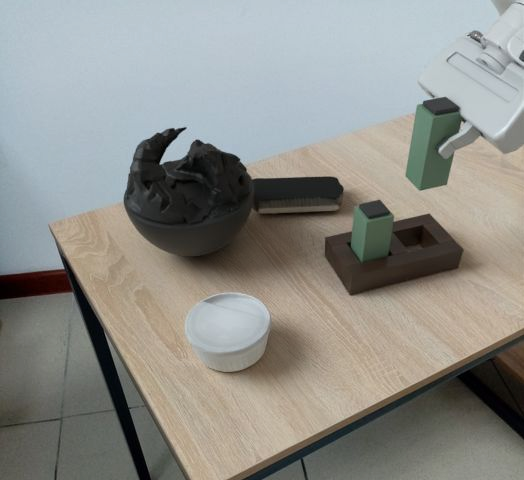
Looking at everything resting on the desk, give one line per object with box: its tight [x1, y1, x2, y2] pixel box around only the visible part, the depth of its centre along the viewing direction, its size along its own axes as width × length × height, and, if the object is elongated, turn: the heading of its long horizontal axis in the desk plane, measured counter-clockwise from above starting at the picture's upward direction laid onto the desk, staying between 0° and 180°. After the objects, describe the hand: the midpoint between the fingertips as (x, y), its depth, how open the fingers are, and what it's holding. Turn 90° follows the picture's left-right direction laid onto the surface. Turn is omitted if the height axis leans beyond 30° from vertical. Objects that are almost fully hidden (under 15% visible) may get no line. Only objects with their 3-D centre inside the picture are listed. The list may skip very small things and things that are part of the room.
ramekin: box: [184, 291, 272, 373], centre depth 70 cm, size 11×11×5 cm
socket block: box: [323, 213, 464, 296], centre depth 81 cm, size 10×18×4 cm, turn 107°
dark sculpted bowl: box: [123, 126, 254, 257], centre depth 81 cm, size 20×20×19 cm
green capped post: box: [404, 97, 463, 192], centre depth 70 cm, size 4×4×11 cm
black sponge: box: [252, 175, 345, 214], centre depth 93 cm, size 16×8×4 cm, turn 90°
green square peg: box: [351, 199, 395, 263], centre depth 78 cm, size 4×4×11 cm
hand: (429, 144), depth 70 cm, fingers closed on green capped post, 4 cm apart
